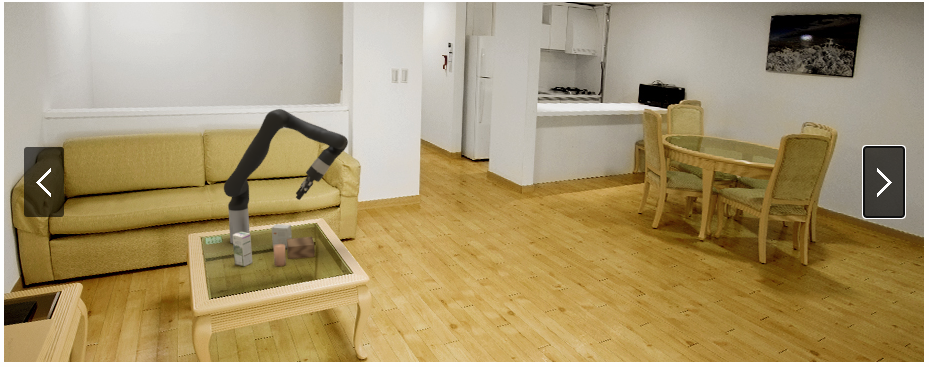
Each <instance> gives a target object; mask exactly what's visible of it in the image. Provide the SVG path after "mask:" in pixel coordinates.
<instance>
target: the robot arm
mask: <svg viewBox="0 0 929 367" xmlns="http://www.w3.org/2000/svg"><path fill="white" fill-rule="evenodd" d="M284 128H286V129H290V130H294V131H295V132H297V133H300V134H301V135H303V136H304V137H306V138H307V139H310V140H312V141H314V142H318V143H320V144H324V145H327V146H328V147H327V148H325V149H323V150H322V152H320V154H319V155H318V156H317V158H316V159H314V161H313V162H312V164H311V165H310V166H309V168H308V169H307V170H306V172H305V174H306V175H307V176H306V177H305V179H304V180H303V181H302V183H301V184H300V187H299V188H298V189H297V190H296V192H295V198H296V199H297V200H299V201H300V200H301V199H302V198H303V196H304V195H305V194H308V191H309V190H310V189H311V187H313V185H314V181H315V182H317V183H318V182H319V183H320V181H321V180H322V179H323V177H325V174H327V173H328V171H329V169H330V167H331V166H332V164H333V163H334V162H335V161H336V159H337V158H338V157H339V156H340V155H341V154H342V153H343V152H344V151H345V150H346V148H347V146H348V143H349V140H348V139H347V137H346V136H345V135H343V134H342V133H341V134H340V133H338V132H335V131H331V130H328V129H326V128H324V127H321V126H319V125H316V124H313V123H311V122H308V121H306V120H304V119H301V118H299V117H297V116H295V115H293V114H292V113H290V112H288V111H286V110H285V109H282V108H277V109H274V110H271V111H269V112H268V113H267V114H266V115H265V117H264V119H263V121H262V123H261V126H260V128H259V130H258V131H257V133H256V135H255V136H254V137H253V139H252V141H251V143H250V144H249V145H248V147H247V149H246V150H245V152H244V154H243V155H242V157H241V158H240V160H239V162H238V164H237V166H236V167H235V169H234V171H233V172H232V173H231V174H230V176H229V177H228V178H227V180H225V183H224V184H223V192H224V194H225V195H226V196H227V197H230V198H231V199H230V201H229V202H228V204H227V206H228V207H227V209H228V219H229V224H228V228H229V237H230V238H229V239H230V244H233V235H234V234H236V233H238V232H245V233H250V232H251V231H250V218H249V202H250V185H249V181H248V178H249V177H250V176H251V175H252V174H253V173H254V172H255V171H256V170H257V169H258V168H259V167H261V165H262V163H263V161H264V160H265V159H266V157H267V155H268V153H269V151H270V146H271V143H272V140H273V139H274V137H275V135H276V134H277V133H278V132H279V130H281V129H284ZM250 234H251V233H250Z"/></svg>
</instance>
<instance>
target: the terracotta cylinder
mask: <svg viewBox="0 0 929 367" xmlns="http://www.w3.org/2000/svg"><path fill="white" fill-rule="evenodd" d="M273 257H274V258H273V261H274V263H273V264H274V267H284V266H285V265H287V258H286V257H287V256H286V248H285V245H284V244H276V245H274V247H273Z"/></svg>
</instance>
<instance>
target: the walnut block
mask: <svg viewBox="0 0 929 367" xmlns="http://www.w3.org/2000/svg"><path fill="white" fill-rule="evenodd" d="M286 250H287V258H288V260H289V259H290V260H291V259H292V260H293V259H301V258H302V259H303V258H304V259H305V258H313V257H315V256H316V254H315V243H314V240H313V237H312V236H305V237H304V236H303V237H292V238H290V239H287V248H286Z"/></svg>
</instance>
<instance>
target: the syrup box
mask: <svg viewBox="0 0 929 367" xmlns="http://www.w3.org/2000/svg"><path fill="white" fill-rule="evenodd" d="M251 239H252V238H251V233H245V232H238V233H236V234H234V235H233V243H232V244H233V247H232V248H233V258H234V265H235V266H241V267H246V266H248V265H252V263H253V254H252V253H253V251H252V240H251Z"/></svg>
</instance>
